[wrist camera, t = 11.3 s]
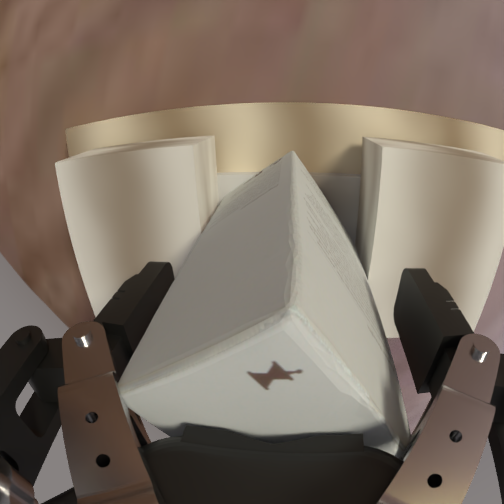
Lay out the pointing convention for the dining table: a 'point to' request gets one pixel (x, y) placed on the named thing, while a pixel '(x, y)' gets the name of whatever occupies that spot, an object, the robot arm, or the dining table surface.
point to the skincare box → (270, 327)
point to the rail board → (319, 167)
